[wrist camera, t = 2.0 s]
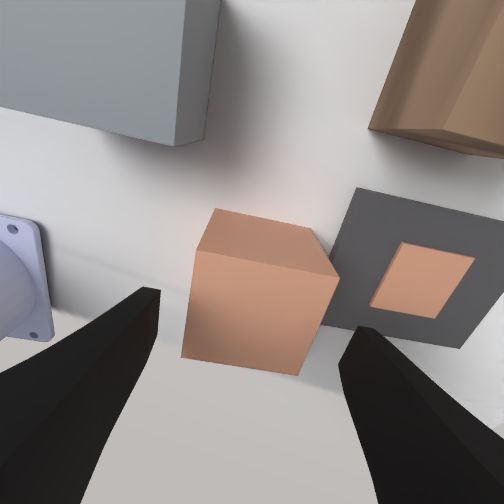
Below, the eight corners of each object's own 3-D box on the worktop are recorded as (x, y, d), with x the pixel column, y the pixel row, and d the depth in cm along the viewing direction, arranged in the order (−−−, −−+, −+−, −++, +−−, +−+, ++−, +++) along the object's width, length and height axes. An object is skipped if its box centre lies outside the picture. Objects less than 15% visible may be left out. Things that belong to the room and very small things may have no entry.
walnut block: (367, 128, 11) (443, 129, 7) (423, -22, 9) (586, -164, 5) (467, 154, 12) (599, 170, 7) (543, 17, 10) (794, -78, 5)
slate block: (88, 112, 11) (-24, 100, 7) (80, -48, 9) (-92, -224, 4) (203, 139, 12) (173, 146, 7) (222, -6, 9) (195, -128, 5)
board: (306, 315, 16) (308, 324, 15) (356, 187, 12) (363, 190, 12) (452, 341, 17) (462, 351, 16) (537, 229, 13) (553, 234, 13)
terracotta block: (202, 288, 15) (180, 357, 11) (215, 207, 13) (196, 249, 8) (284, 303, 16) (297, 375, 11) (310, 227, 13) (340, 278, 9)
